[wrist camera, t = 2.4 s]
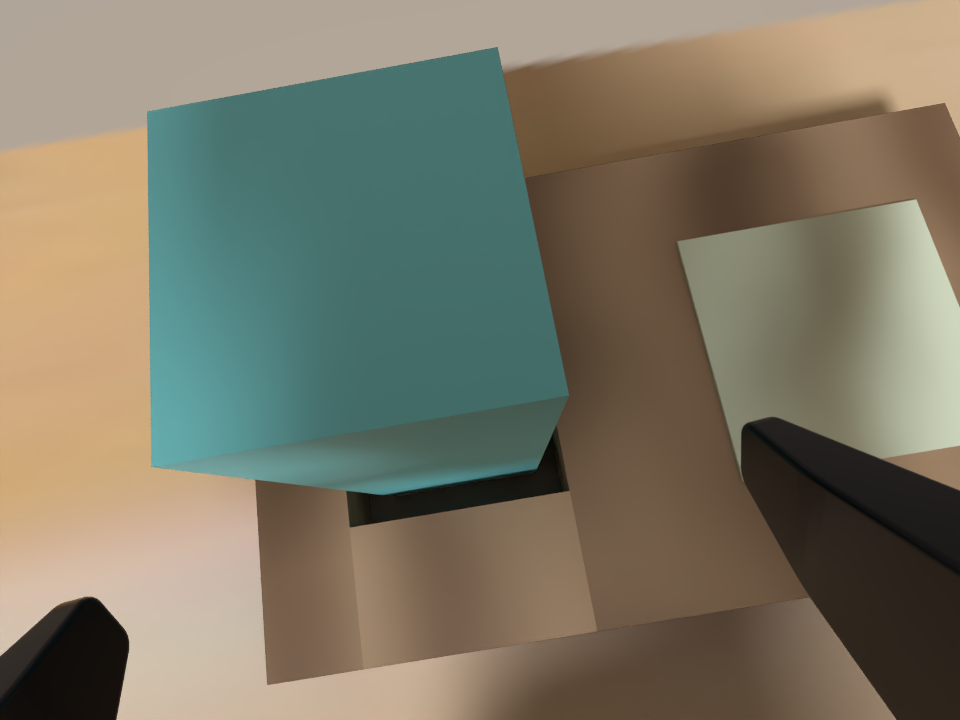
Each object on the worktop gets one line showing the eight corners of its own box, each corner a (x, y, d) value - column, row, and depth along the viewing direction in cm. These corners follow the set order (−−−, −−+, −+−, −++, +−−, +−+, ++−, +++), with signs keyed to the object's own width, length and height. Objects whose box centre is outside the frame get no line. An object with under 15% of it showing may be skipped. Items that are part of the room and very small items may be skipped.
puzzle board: (893, 152, 20) (947, 100, 18) (1048, 538, 17) (1142, 544, 14) (273, 262, 21) (239, 227, 18) (302, 660, 17) (265, 686, 15)
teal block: (510, 337, 19) (497, 47, 7) (535, 472, 18) (569, 395, 6) (377, 360, 19) (147, 111, 7) (394, 496, 18) (151, 467, 6)
